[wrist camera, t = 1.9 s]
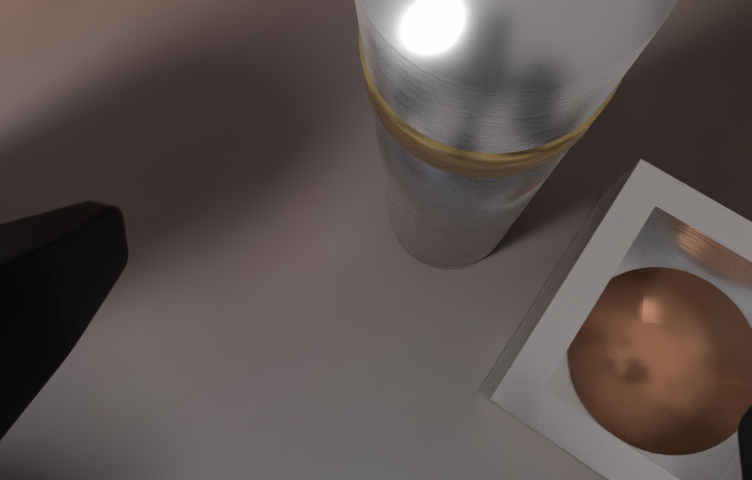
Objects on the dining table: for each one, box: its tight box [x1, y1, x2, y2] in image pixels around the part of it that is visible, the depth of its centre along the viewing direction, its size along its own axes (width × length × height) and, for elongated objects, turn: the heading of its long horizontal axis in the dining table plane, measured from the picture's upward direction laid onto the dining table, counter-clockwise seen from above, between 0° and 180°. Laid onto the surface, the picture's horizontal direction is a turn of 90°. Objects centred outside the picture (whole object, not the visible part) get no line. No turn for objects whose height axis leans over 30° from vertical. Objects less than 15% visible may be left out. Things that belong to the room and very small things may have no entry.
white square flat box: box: [478, 159, 752, 480], centre depth 16 cm, size 8×8×3 cm
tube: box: [355, 0, 678, 269], centre depth 13 cm, size 4×4×13 cm
